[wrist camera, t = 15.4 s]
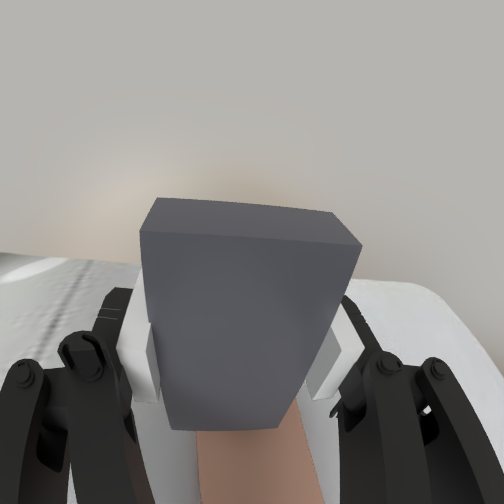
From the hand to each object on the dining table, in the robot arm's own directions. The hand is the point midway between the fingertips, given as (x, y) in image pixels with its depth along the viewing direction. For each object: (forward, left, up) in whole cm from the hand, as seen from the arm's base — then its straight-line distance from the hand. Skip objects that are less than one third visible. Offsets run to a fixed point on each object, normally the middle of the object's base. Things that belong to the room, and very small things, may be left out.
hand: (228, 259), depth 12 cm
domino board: (+4, -3, -19) cm, 19 cm away
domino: (-4, -1, -6) cm, 7 cm away
